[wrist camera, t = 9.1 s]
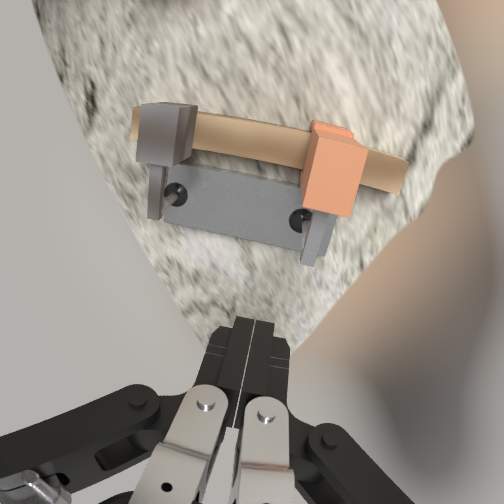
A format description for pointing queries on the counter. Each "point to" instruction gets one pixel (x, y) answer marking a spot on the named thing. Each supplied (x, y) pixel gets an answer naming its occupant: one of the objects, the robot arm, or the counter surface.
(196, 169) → the strip
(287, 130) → the trammel bar
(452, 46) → the counter surface
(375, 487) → the robot arm
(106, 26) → the counter surface
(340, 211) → the block
